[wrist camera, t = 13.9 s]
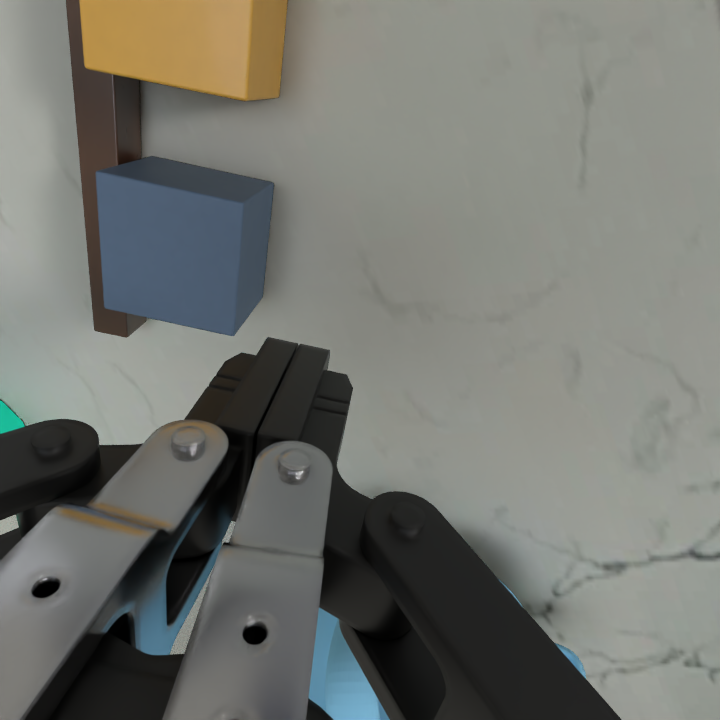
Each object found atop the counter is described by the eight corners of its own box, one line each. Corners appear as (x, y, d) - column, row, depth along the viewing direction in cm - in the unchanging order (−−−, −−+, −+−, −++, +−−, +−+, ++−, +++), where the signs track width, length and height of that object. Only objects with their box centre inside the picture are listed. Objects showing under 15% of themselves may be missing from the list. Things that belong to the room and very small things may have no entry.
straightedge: (74, -340, 14) (30, -393, 12) (127, -328, 14) (90, -381, 12) (115, 314, 24) (93, 331, 22) (146, 321, 24) (127, 338, 22)
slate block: (150, 155, 20) (94, 170, 17) (274, 182, 20) (243, 203, 17) (152, 273, 23) (103, 308, 19) (262, 297, 23) (233, 337, 19)
